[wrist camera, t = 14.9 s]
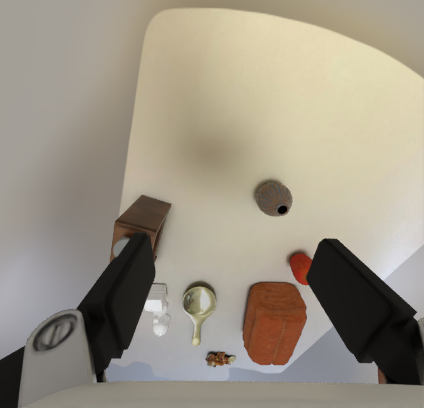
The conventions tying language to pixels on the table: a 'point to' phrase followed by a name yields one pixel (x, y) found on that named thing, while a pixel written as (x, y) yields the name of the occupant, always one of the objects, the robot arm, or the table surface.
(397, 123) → the table surface
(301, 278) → the apple
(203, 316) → the spoon
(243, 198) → the table surface
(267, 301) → the bread
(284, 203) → the vase
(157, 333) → the container set
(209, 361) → the pastry
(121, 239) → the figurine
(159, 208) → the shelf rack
